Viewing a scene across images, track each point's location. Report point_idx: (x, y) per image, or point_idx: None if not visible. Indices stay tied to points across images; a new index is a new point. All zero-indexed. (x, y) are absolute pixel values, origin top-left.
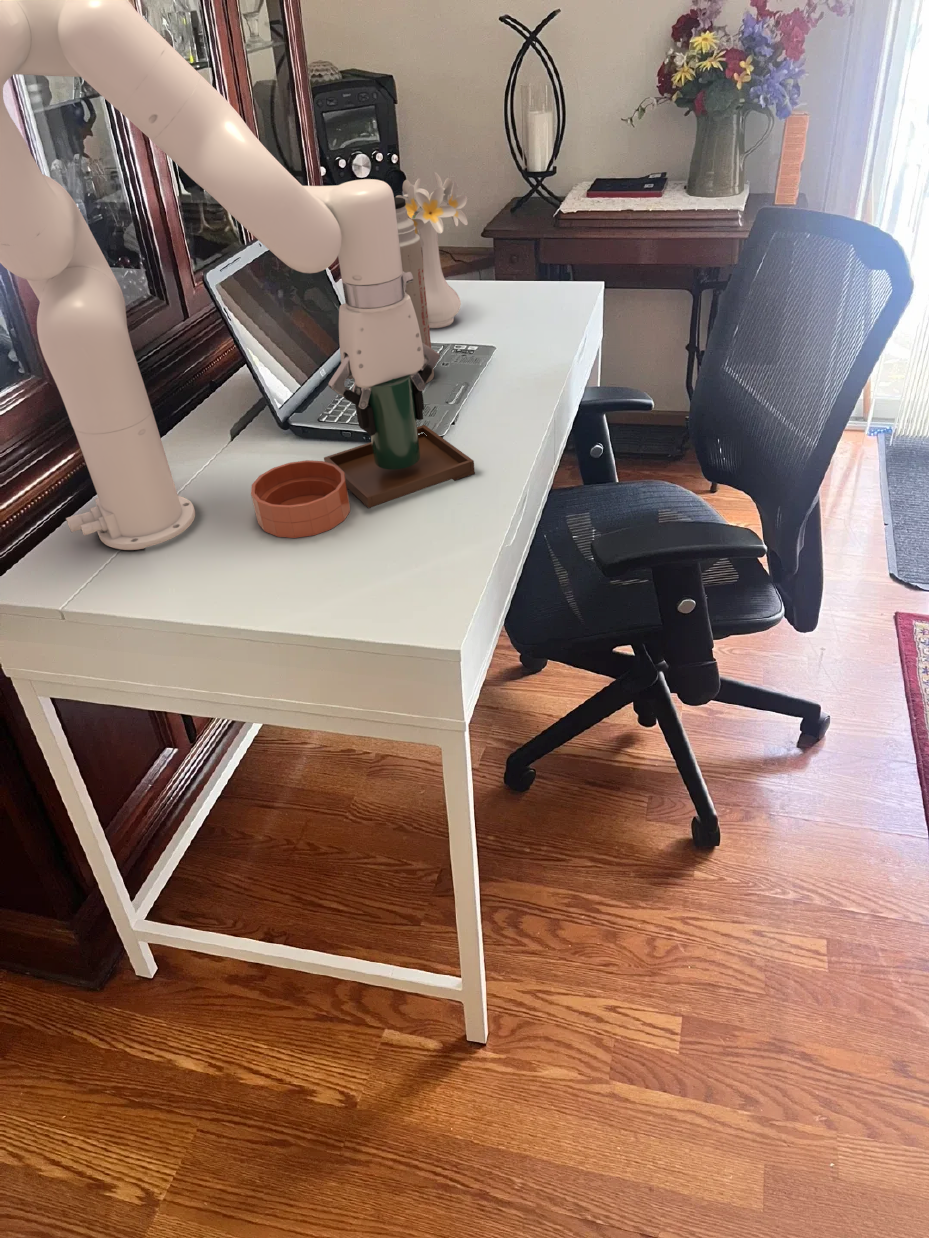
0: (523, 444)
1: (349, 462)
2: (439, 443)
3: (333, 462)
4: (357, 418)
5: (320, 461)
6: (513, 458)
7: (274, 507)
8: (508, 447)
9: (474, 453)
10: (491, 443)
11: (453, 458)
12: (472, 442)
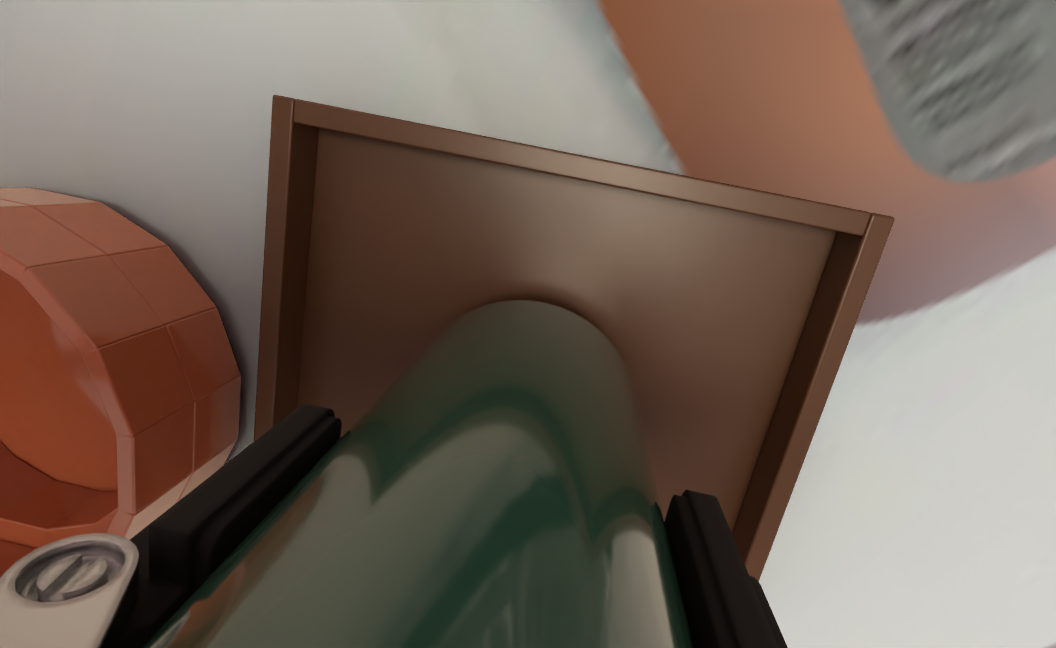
0: (1041, 606)
1: (409, 158)
2: (791, 401)
3: (285, 186)
4: (207, 478)
5: (80, 338)
6: (906, 645)
7: None
8: (981, 577)
9: (852, 505)
10: (976, 501)
11: (744, 499)
12: (938, 430)
